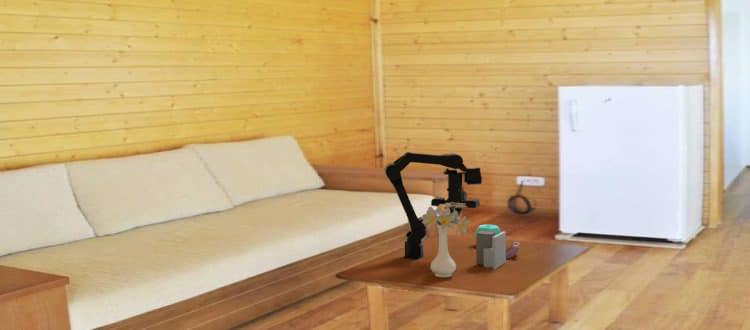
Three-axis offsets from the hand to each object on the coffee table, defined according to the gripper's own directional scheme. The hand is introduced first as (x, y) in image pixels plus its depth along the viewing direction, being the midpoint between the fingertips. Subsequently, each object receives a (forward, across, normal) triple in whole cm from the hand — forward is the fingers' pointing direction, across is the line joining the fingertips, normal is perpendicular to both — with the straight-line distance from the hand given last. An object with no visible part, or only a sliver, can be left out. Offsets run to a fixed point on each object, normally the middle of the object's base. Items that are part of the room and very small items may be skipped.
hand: (455, 223), depth 343 cm
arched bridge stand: (+13, -19, +10) cm, 25 cm away
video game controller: (+13, -21, -8) cm, 26 cm away
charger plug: (+13, -16, +10) cm, 22 cm away
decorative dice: (+13, -6, -25) cm, 29 cm away
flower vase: (+13, -7, +32) cm, 35 cm away
